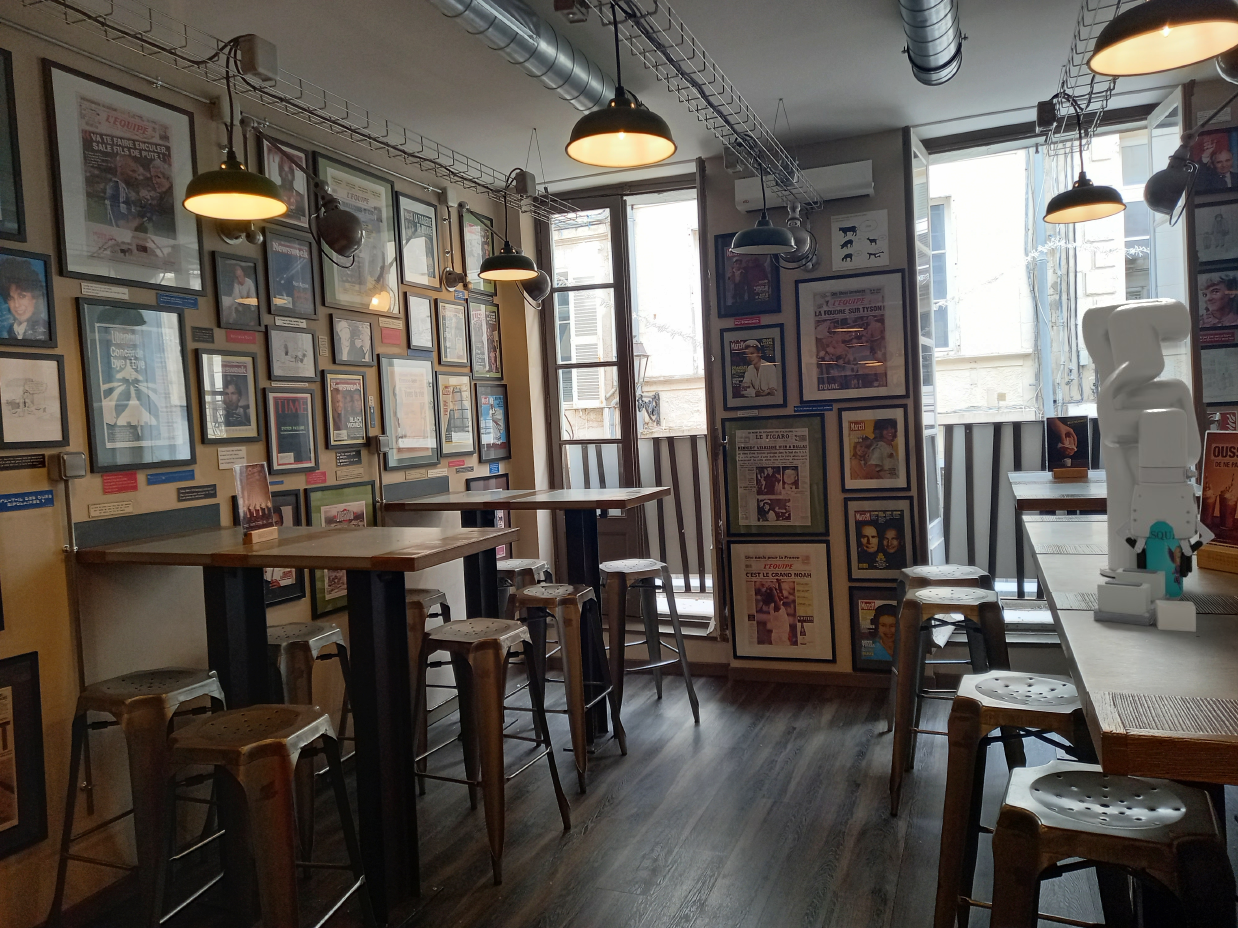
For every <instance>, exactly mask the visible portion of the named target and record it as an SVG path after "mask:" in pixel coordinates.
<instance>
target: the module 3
mask: <svg viewBox="0 0 1238 928" xmlns="http://www.w3.org/2000/svg"><path fill="white" fill-rule="evenodd" d="M1196 608H1197V607H1196V605H1195V604H1194V603H1193V602H1192V601H1188V600H1186V601H1185V600H1183V601H1181V600H1177V601H1165V600H1155V626H1156V627H1157V630H1162V631H1181V632H1197V617H1196V616H1197V611H1196V610H1197V609H1196Z"/></svg>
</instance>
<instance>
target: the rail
mask: <svg viewBox="0 0 1238 928" xmlns="http://www.w3.org/2000/svg"><path fill="white" fill-rule="evenodd" d="M1157 600H1165V601H1169V593H1165V595H1164V596H1162V597H1161V598H1158V599H1157ZM1093 621H1103V622H1111V623H1120V624H1131V625H1138V626H1147V627H1148V626H1150V625H1151V624H1152V623H1154V621H1156V619H1155V600H1151V608H1150V609H1149V610H1148V611H1147V612H1146V613H1143V615H1134V614H1124V613H1114V612H1105V611H1100V608H1098V604H1097V605H1096V606H1094V607H1093Z"/></svg>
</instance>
